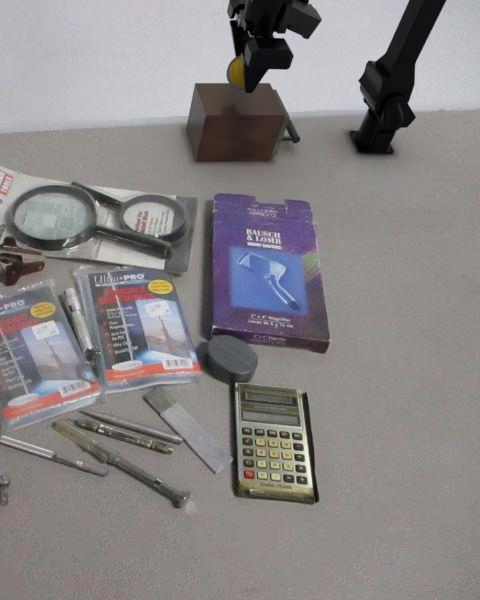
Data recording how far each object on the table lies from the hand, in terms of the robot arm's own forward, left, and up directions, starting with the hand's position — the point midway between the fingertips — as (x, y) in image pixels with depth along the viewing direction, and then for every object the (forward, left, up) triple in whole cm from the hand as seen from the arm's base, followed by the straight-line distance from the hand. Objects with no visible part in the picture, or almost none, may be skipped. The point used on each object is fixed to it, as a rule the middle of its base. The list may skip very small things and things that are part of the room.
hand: (244, 81), depth 97 cm
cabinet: (-1, 0, -13) cm, 13 cm away
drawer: (-1, +4, -12) cm, 13 cm away
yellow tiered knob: (0, 0, -1) cm, 1 cm away
